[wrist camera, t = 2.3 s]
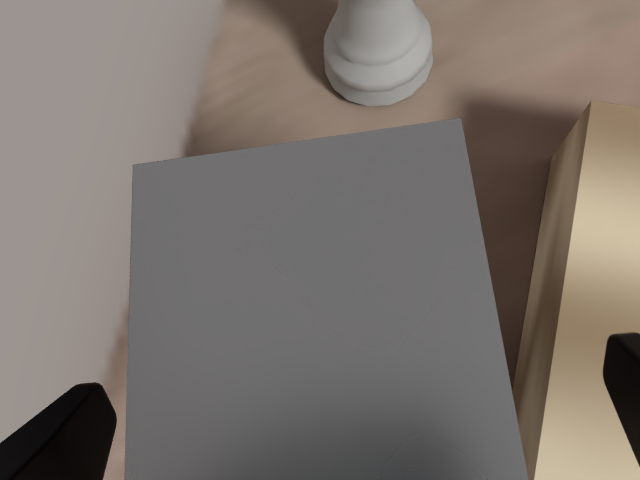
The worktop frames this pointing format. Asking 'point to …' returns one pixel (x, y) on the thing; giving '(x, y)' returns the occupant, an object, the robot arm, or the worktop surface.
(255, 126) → the worktop surface
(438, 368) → the square bit
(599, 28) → the worktop surface
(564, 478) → the socket block
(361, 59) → the rook chess piece
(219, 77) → the worktop surface
